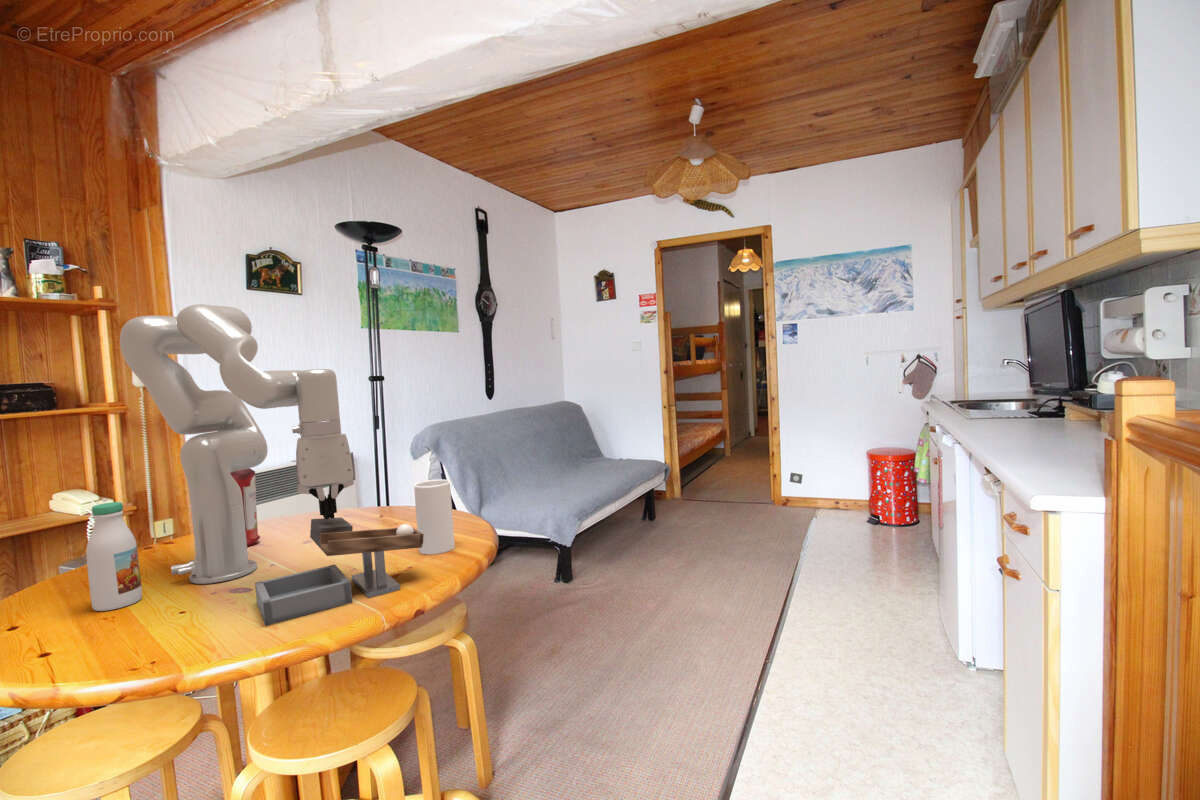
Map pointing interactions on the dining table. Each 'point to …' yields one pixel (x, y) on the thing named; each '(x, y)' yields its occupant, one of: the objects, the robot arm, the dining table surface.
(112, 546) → the milk bottle
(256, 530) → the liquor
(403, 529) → the ball
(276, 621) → the tray
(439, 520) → the cup
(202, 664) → the dining table surface
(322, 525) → the trough
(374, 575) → the pivot stand
